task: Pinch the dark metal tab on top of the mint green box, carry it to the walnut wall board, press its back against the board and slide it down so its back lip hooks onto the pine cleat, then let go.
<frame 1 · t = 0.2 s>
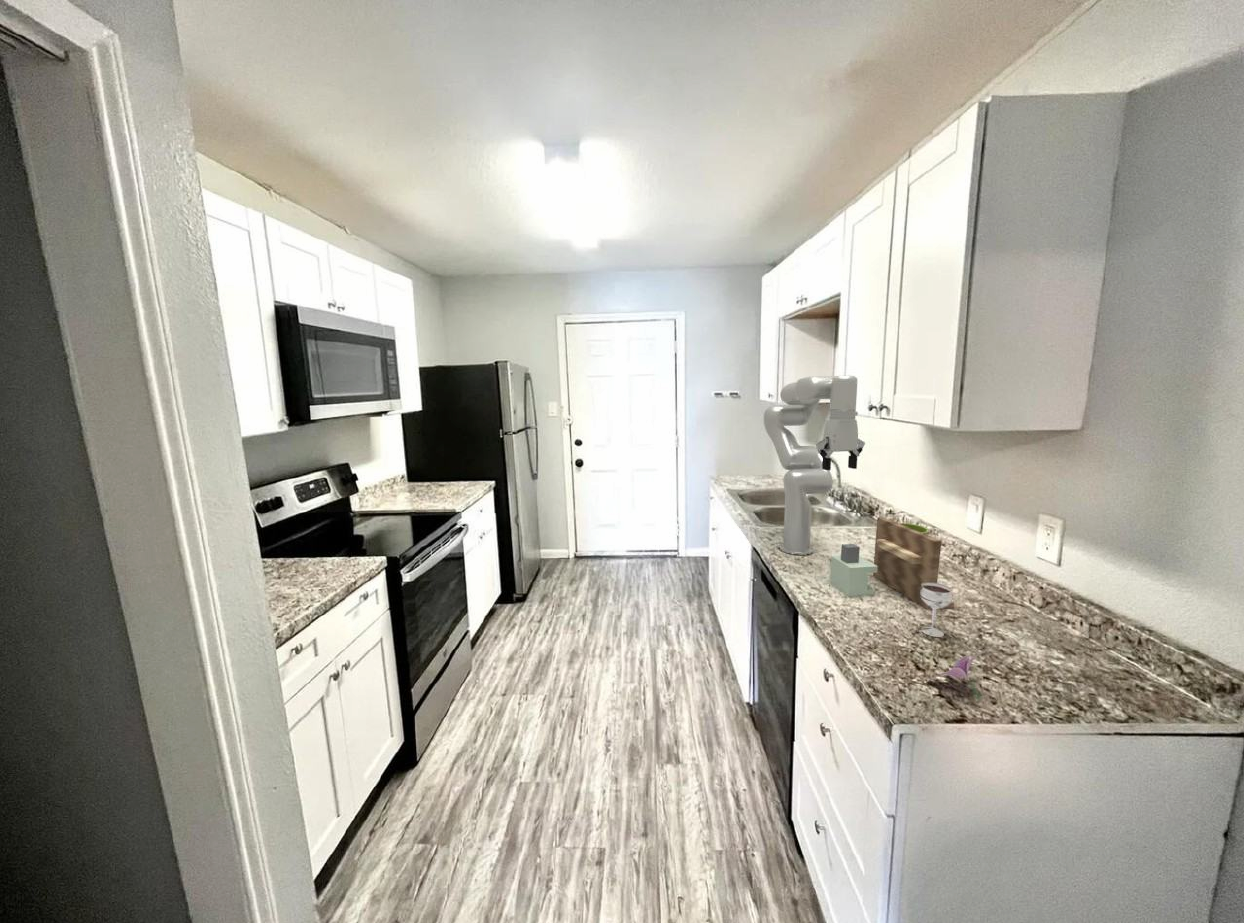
hand: (839, 469, 149), 36 cm above the worktop, tool pointing down, fingers open, 9 cm apart
lily: (956, 688, 97), on the worktop
mint green box: (847, 588, 145), on the worktop
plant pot: (906, 557, 171), on the worktop
wineglass: (932, 632, 119), on the worktop
wall board: (901, 591, 143), on the worktop
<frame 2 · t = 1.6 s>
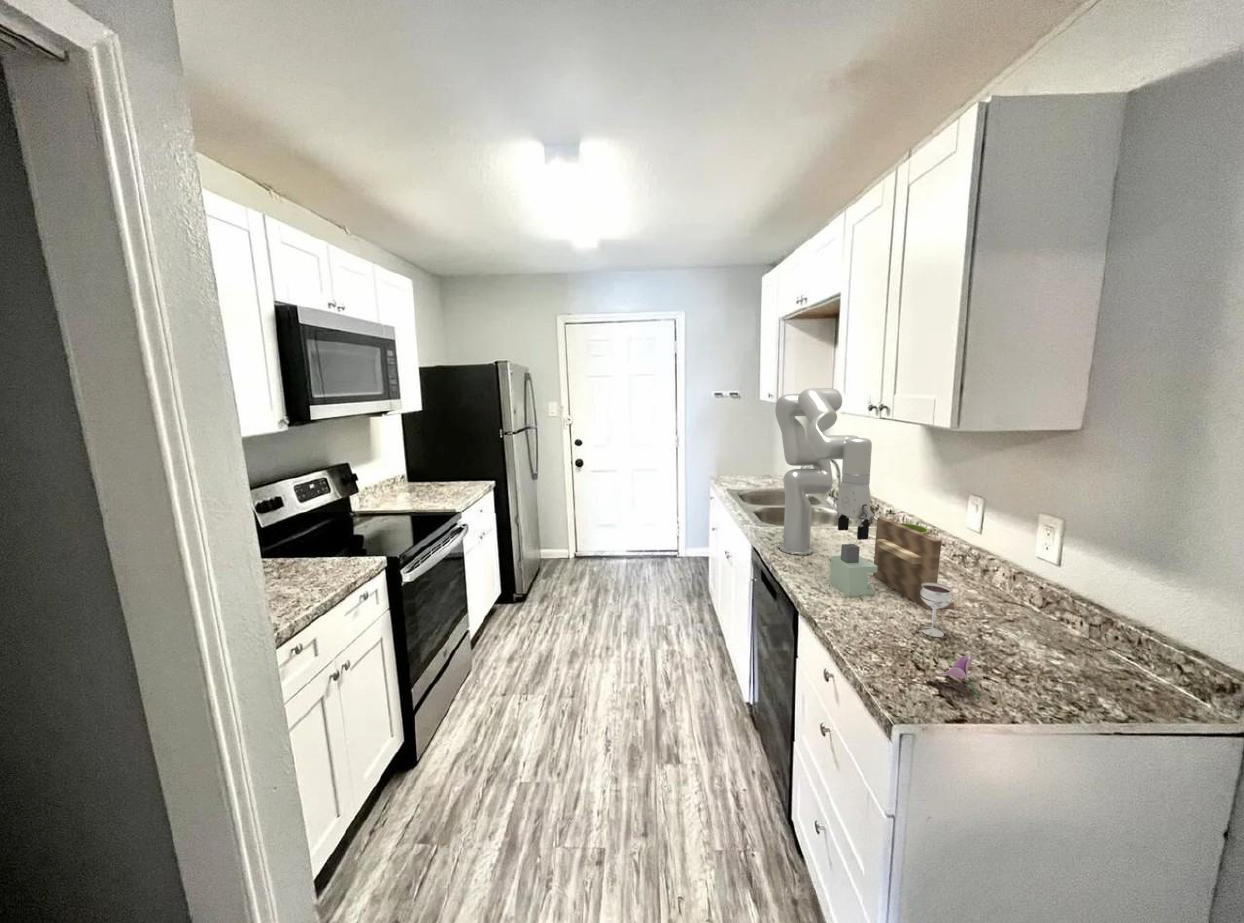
hand: (852, 534, 142), 18 cm above the worktop, tool pointing down, fingers open, 9 cm apart
nothing on the worktop moved.
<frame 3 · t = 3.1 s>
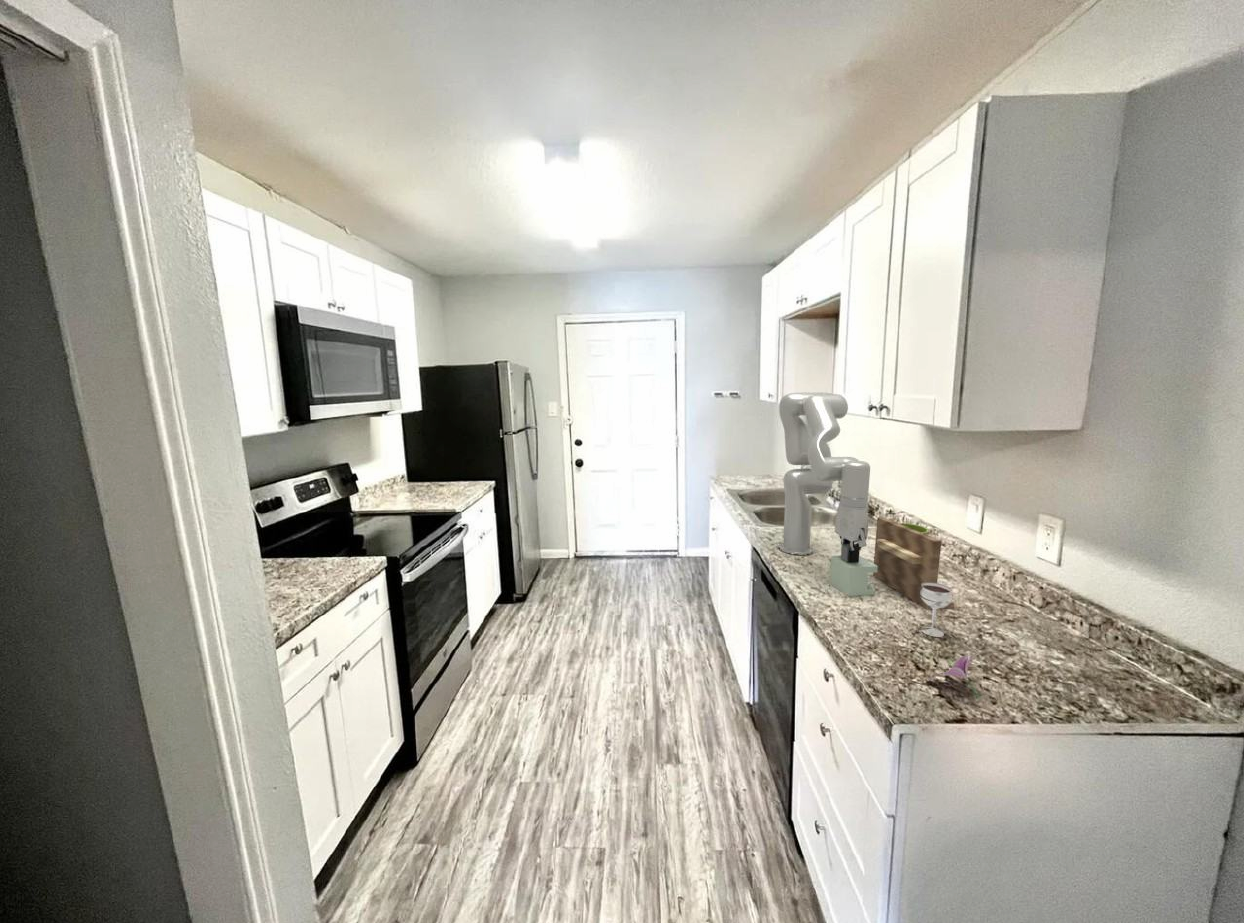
hand: (849, 559, 144), 10 cm above the worktop, tool pointing down, fingers closed on mint green box, 3 cm apart
mint green box: (847, 588, 145), on the worktop, touching gripper
everything else where it was.
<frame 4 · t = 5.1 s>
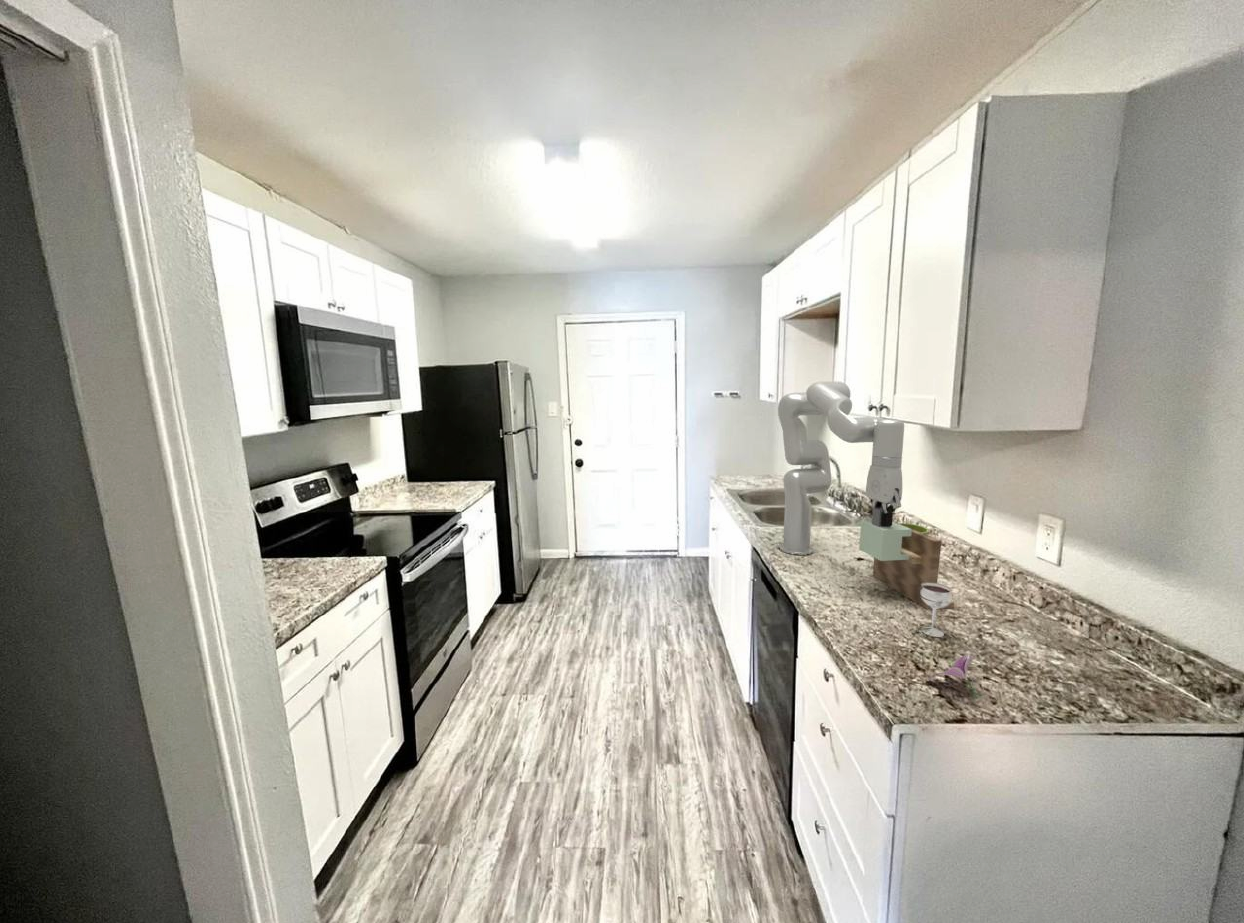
hand: (882, 523, 137), 22 cm above the worktop, tool pointing down, fingers closed on mint green box, 3 cm apart
mint green box: (878, 554, 139), point 13 cm above the worktop, touching gripper
everything else where it was.
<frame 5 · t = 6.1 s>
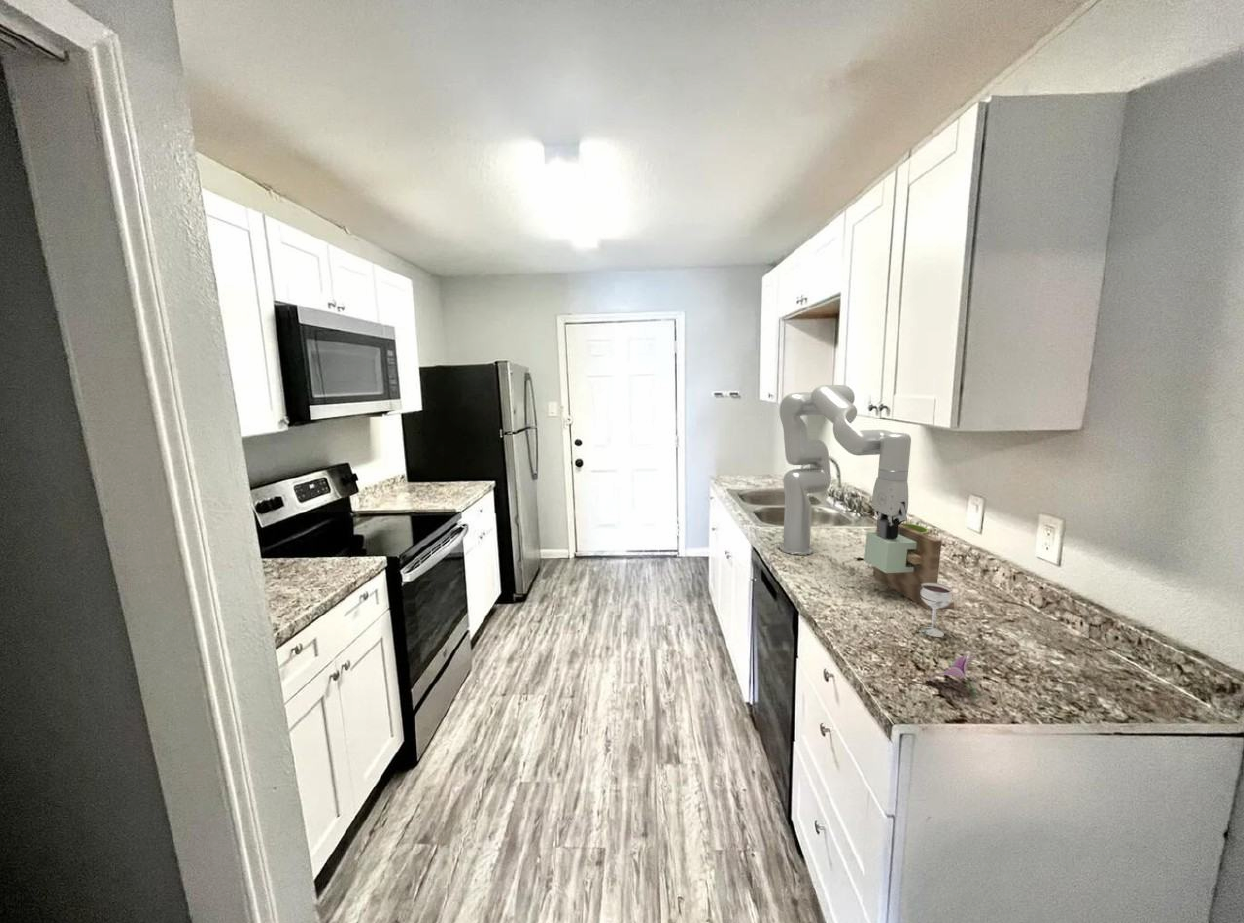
hand: (887, 535, 138), 18 cm above the worktop, tool pointing down, fingers closed on mint green box, 3 cm apart
mint green box: (883, 566, 140), point 9 cm above the worktop, touching gripper
everything else where it was.
when the fingers open (17 cm above the worktop, at t = 7.1 s): mint green box stays where it is, resting on wall board.
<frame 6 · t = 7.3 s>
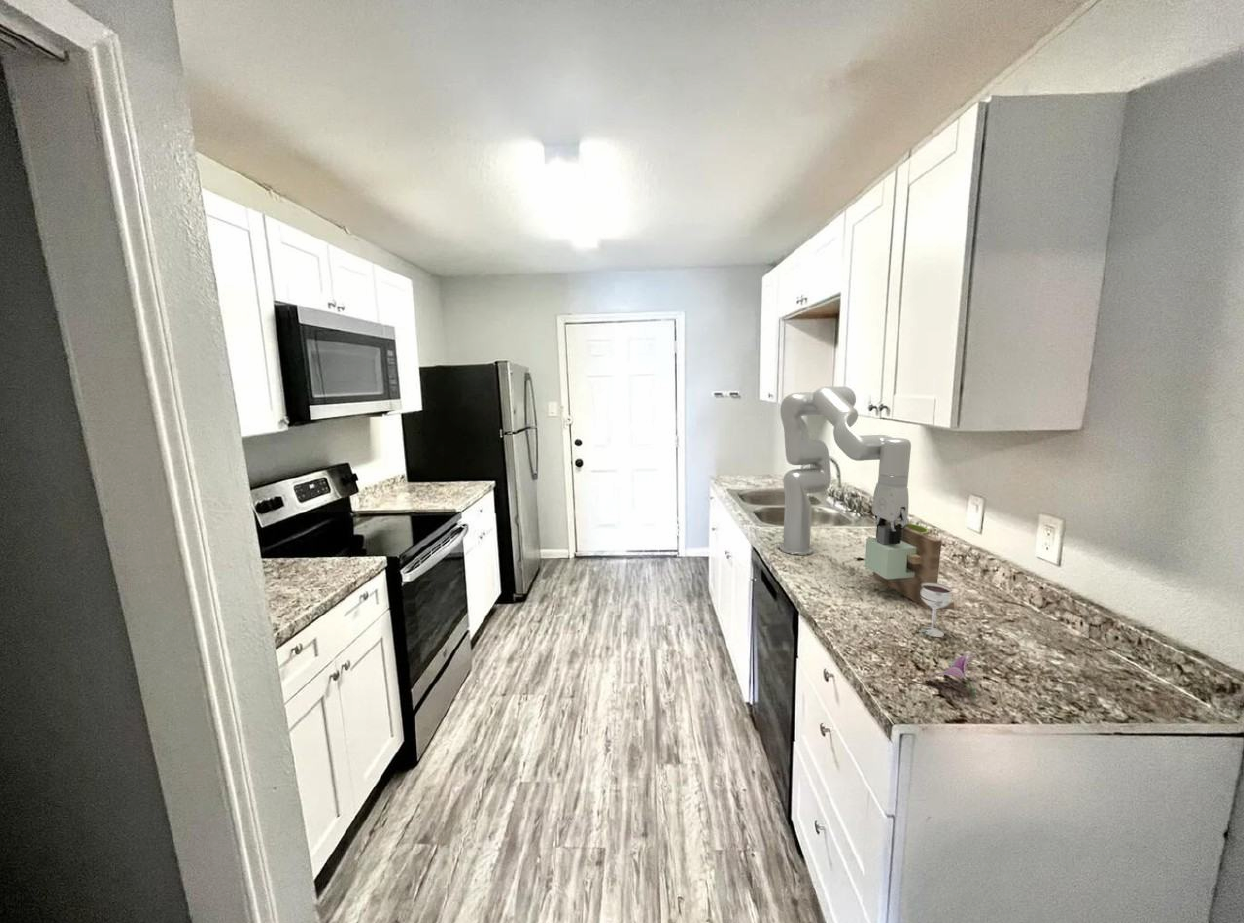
hand: (887, 539, 138), 17 cm above the worktop, tool pointing down, fingers open, 4 cm apart
mint green box: (884, 571, 140), point 7 cm above the worktop, touching wall board
everything else where it was.
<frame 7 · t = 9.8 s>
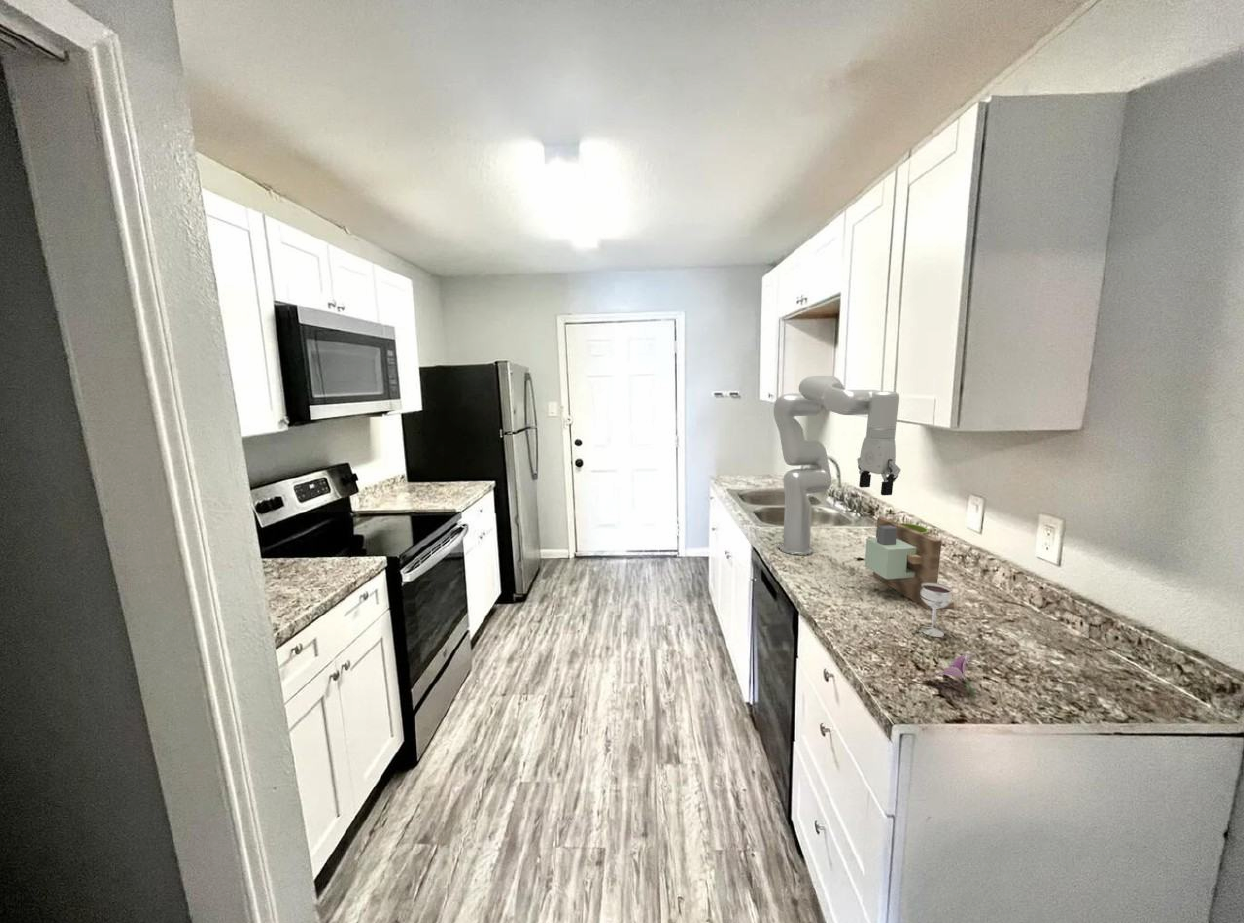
hand: (875, 490, 139), 31 cm above the worktop, tool pointing down, fingers open, 9 cm apart
nothing on the worktop moved.
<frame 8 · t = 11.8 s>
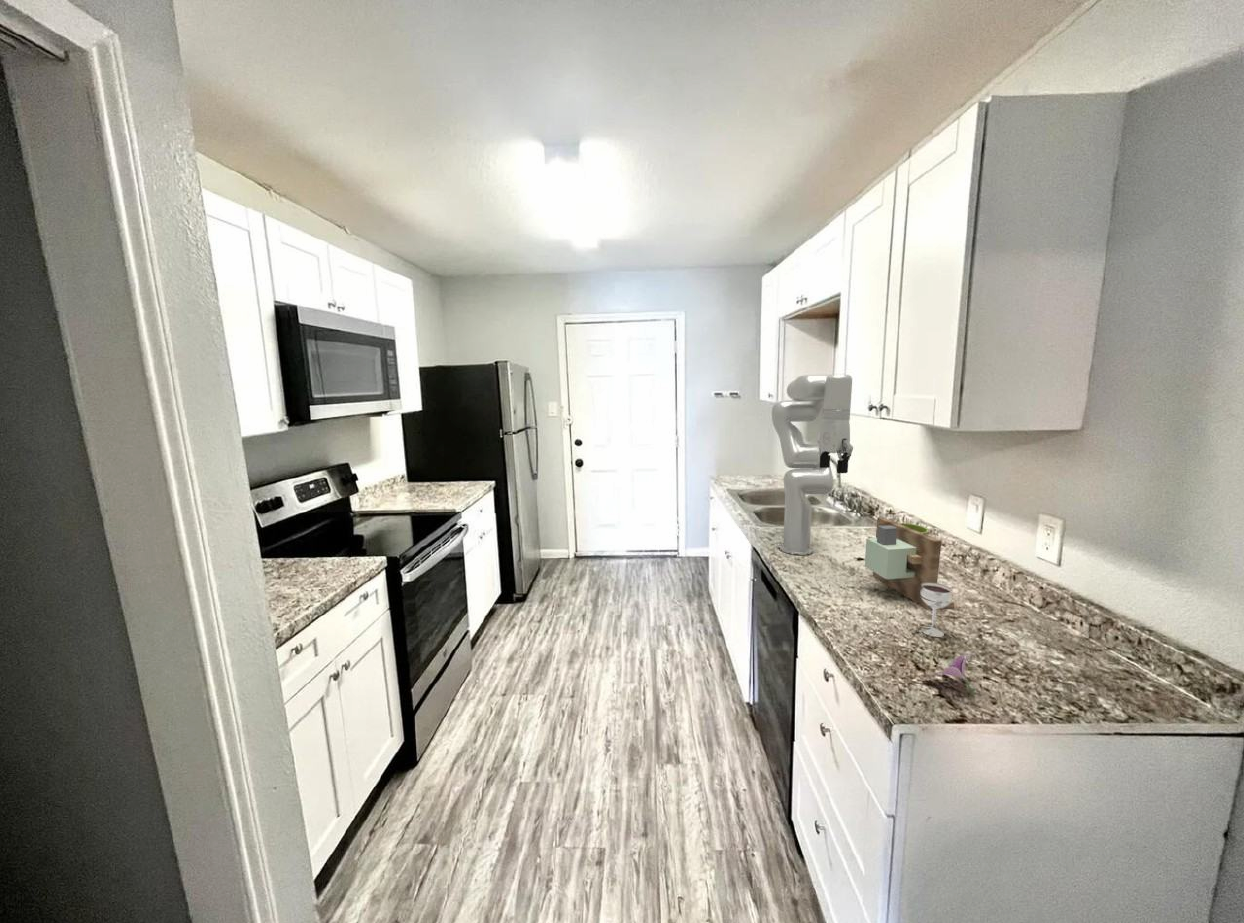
hand: (833, 470, 146), 36 cm above the worktop, tool pointing down, fingers open, 9 cm apart
nothing on the worktop moved.
at the end: mint green box point 7.0 cm above the worktop; mint green box inside the target area on the wall board (1.0 cm from its centre), point 7.0 cm above the wall board's base; mint green box tilted 1° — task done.
